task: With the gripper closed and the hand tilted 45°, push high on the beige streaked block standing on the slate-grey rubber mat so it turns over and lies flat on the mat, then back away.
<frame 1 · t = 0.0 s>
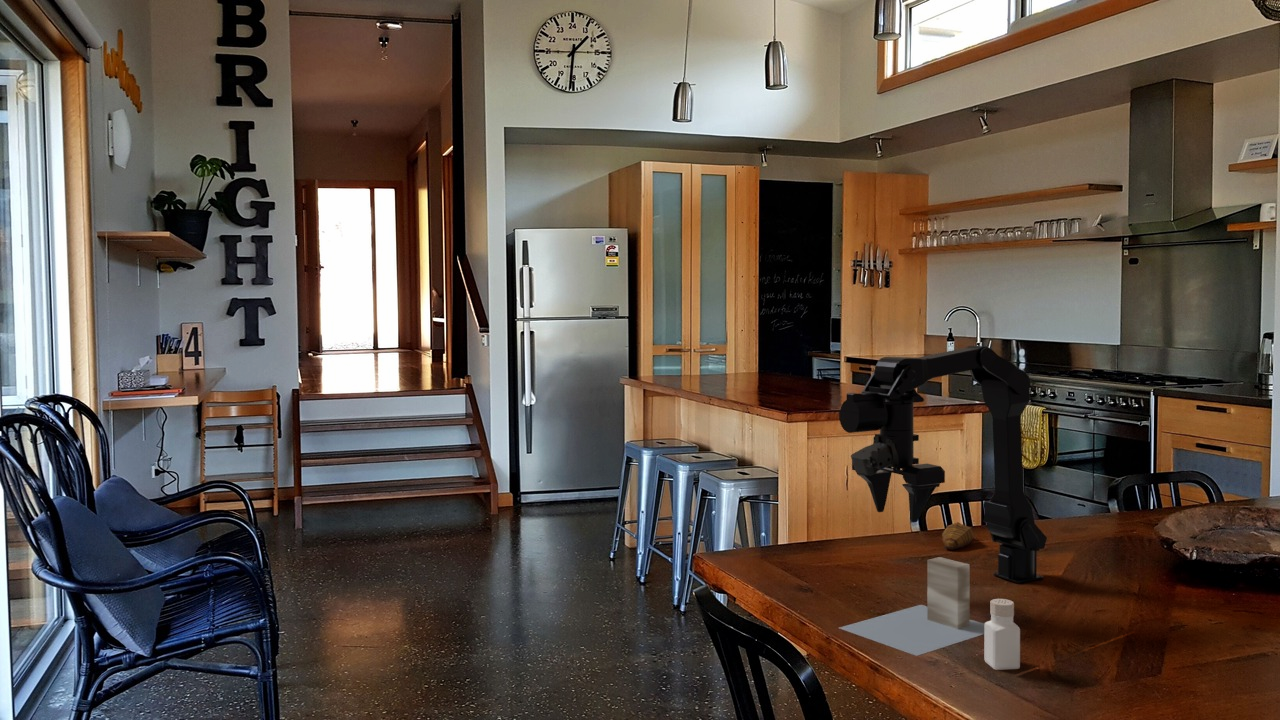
hand: (896, 516, 179), 15 cm above the table, tool pointing down, fingers open, 9 cm apart
pepper shaker: (1001, 667, 146), on the table
croissant: (958, 546, 217), on the table
mat: (918, 630, 163), on the table
beige streaked block: (948, 622, 165), resting on mat
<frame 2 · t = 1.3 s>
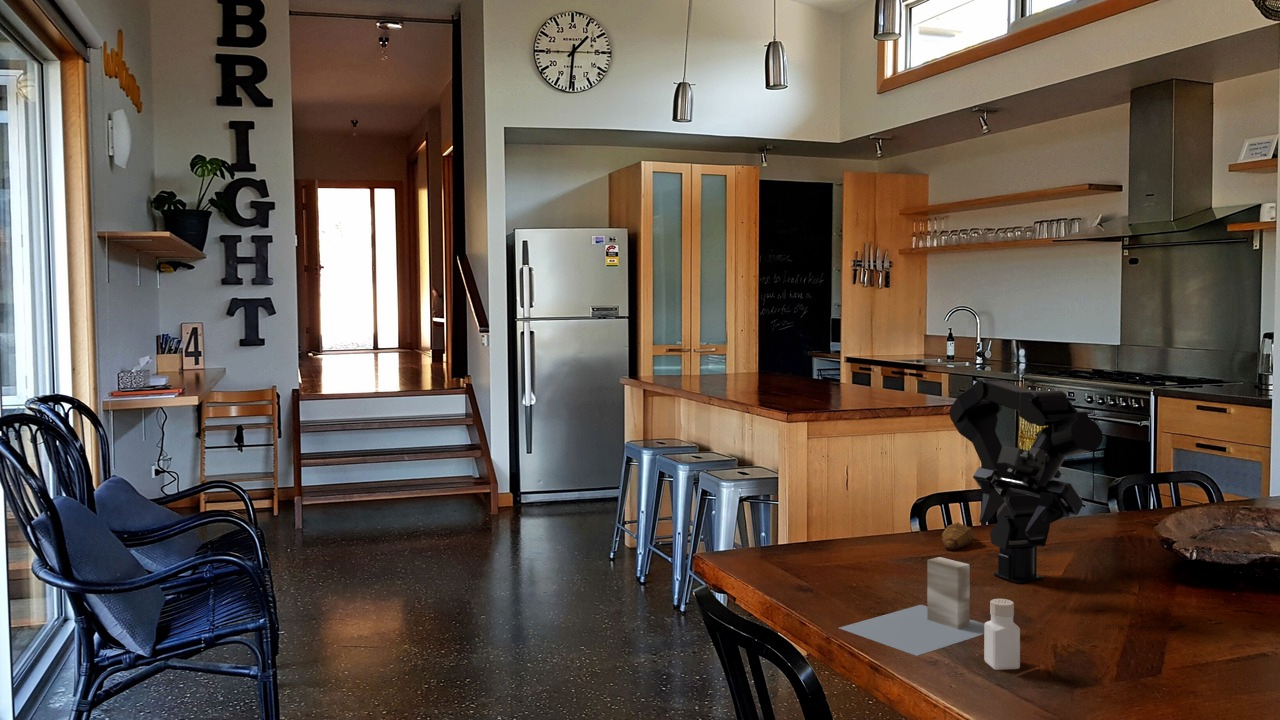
hand: (1003, 528, 173), 13 cm above the table, tool tilted 45°, fingers open, 9 cm apart
nothing on the table moved.
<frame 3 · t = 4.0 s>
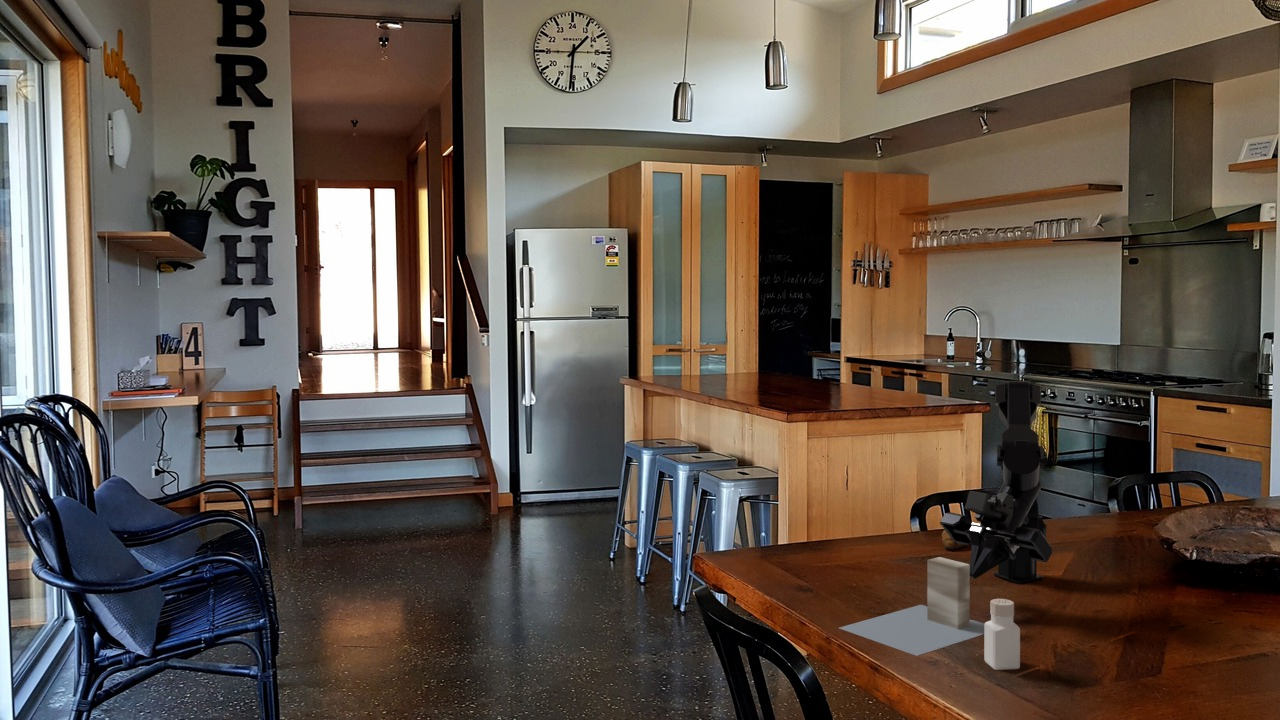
hand: (971, 577, 168), 7 cm above the table, tool tilted 45°, fingers closed
nothing on the table moved.
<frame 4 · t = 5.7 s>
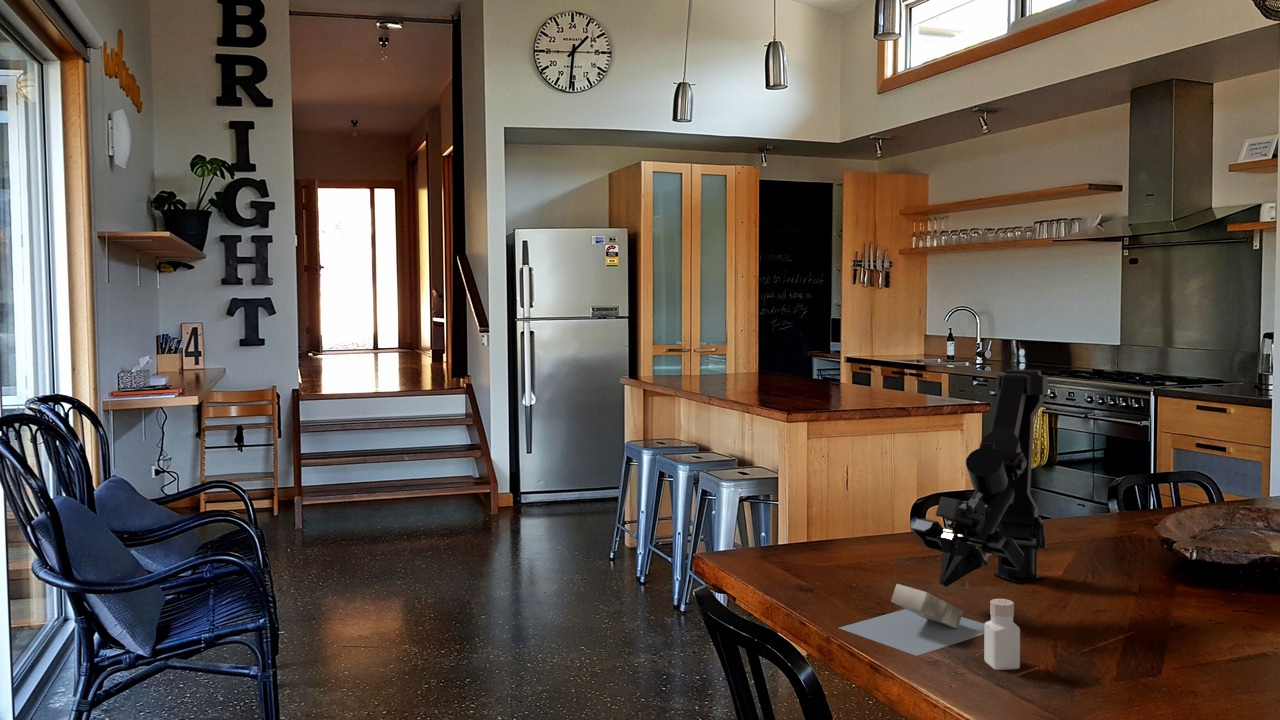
hand: (942, 585, 164), 7 cm above the table, tool tilted 45°, fingers closed
beige streaked block: (945, 615, 165), point 2 cm above the table, tilted 62°, touching mat
everything else where it was.
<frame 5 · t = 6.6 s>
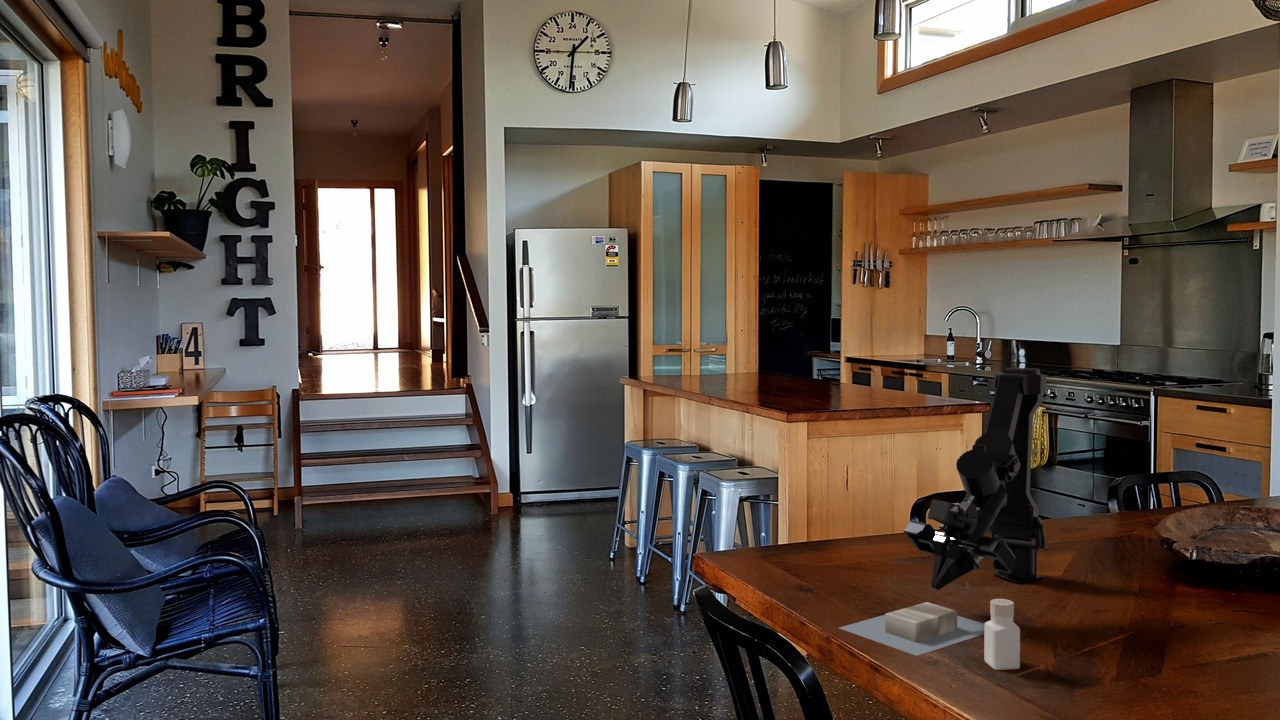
hand: (934, 588, 163), 7 cm above the table, tool tilted 45°, fingers closed
beige streaked block: (941, 615, 164), point 2 cm above the table, tilted 90°, touching mat
everything else where it was.
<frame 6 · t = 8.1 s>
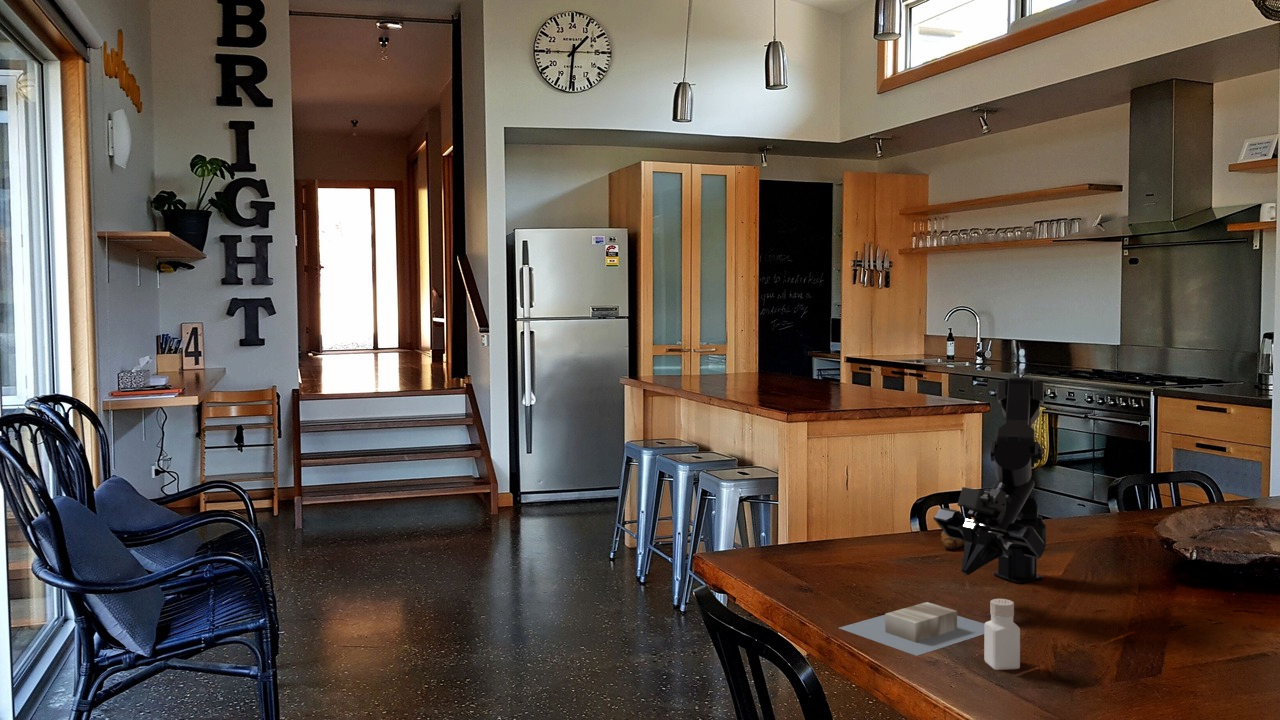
hand: (964, 573, 168), 8 cm above the table, tool tilted 45°, fingers closed
nothing on the table moved.
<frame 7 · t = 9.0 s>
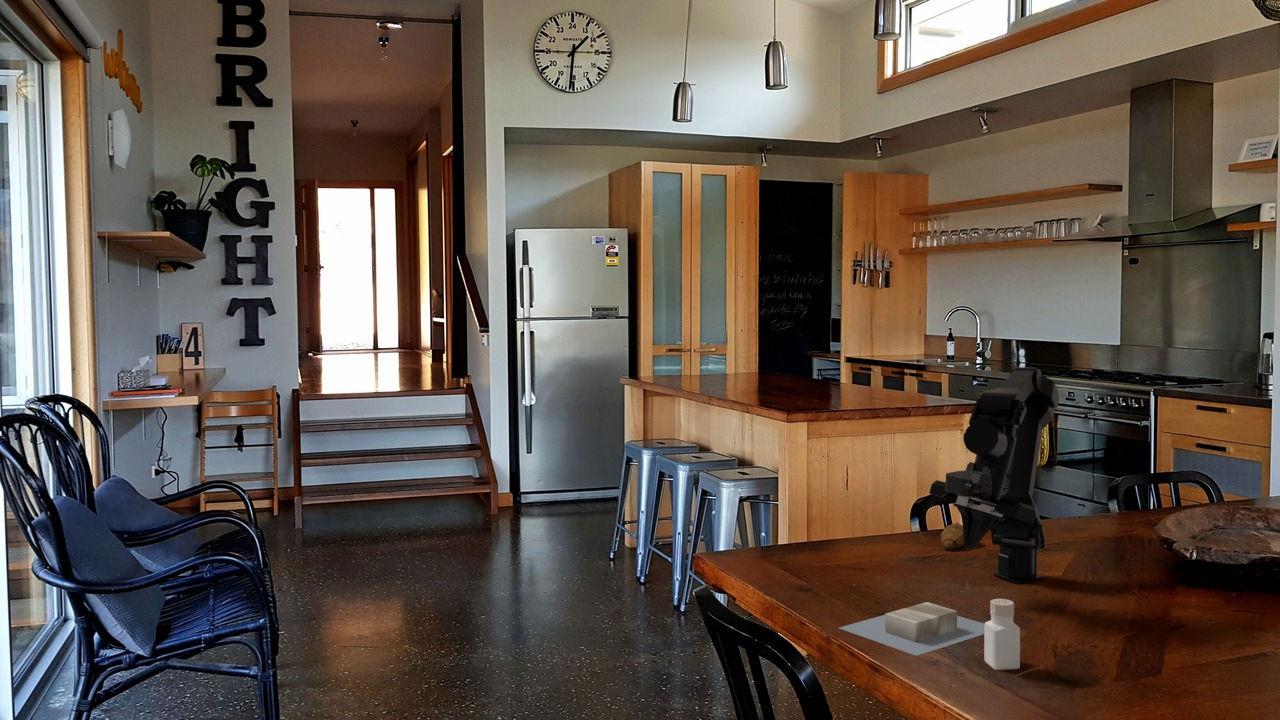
hand: (967, 549, 176), 9 cm above the table, tool tilted 20°, fingers closed
nothing on the table moved.
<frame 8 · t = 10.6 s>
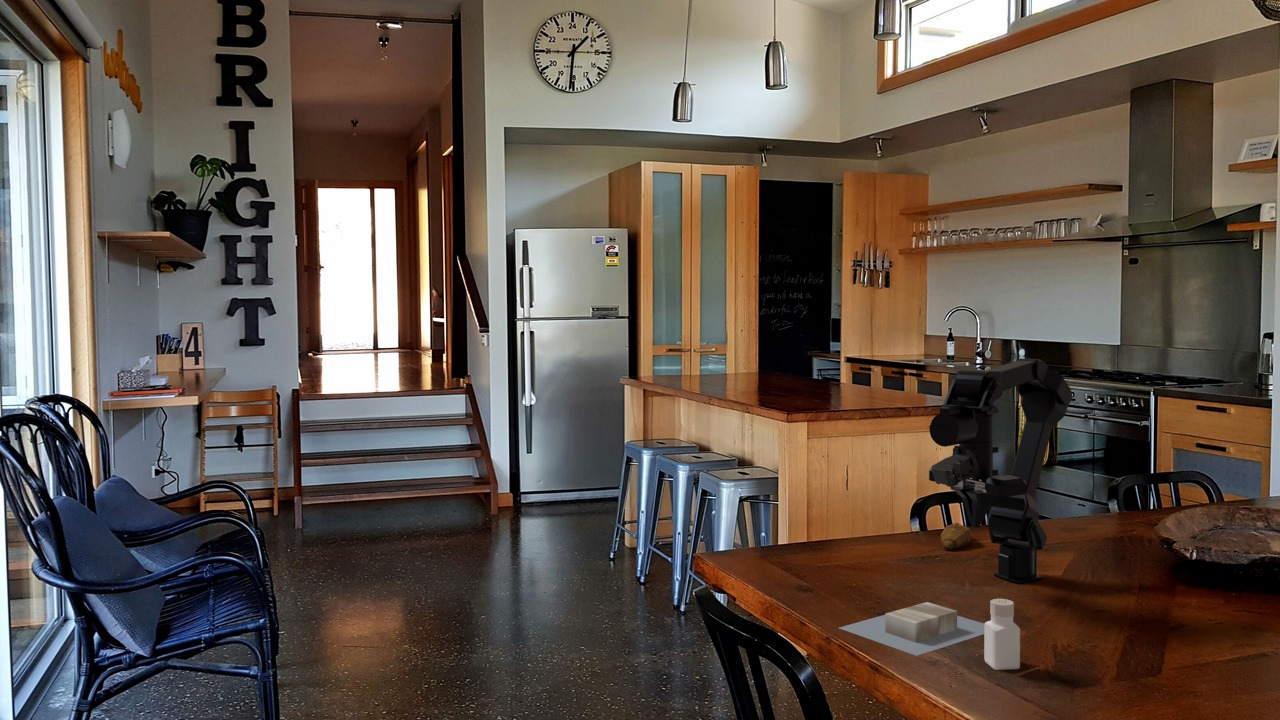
hand: (975, 527, 181), 12 cm above the table, tool pointing down, fingers closed
nothing on the table moved.
at the end: beige streaked block tilted 90°; beige streaked block inside the target area (5.9 cm from its centre), point 1.8 cm above the table; beige streaked block touching mat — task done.
